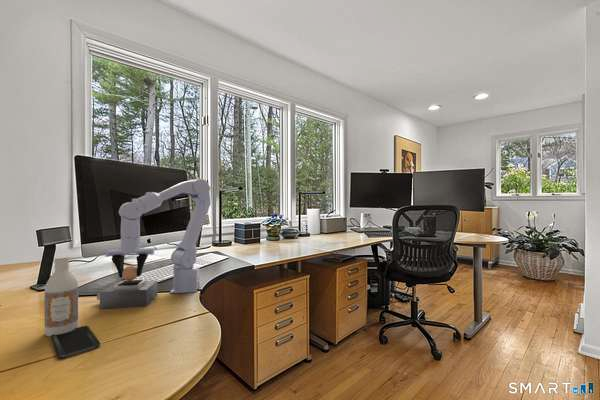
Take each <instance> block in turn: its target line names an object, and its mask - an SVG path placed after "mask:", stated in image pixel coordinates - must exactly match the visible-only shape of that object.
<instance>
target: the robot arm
mask: <svg viewBox="0 0 600 400" xmlns="http://www.w3.org/2000/svg"><path fill="white" fill-rule="evenodd" d="M210 191H211V186H210V185H209V182H207V180H205V179H204V178H198V179H188V180H187V181H186V180H185V181H182V182H179V183H177V184H175V185H173V186H170V187H169V188H167V189H165V190H164V189H163V190H162V191H161V192H154V191H148V192H145V194H144V195H142V196H140V197H138V198H137V197H136V198H131V201H130V202H129V201H128V202H125V203H122V204H121V206H120V207H119V210H118V215H119V216H120V219H121V220H120V248H119V249H108V250H105V257H106V258H107V257H108V258H109V257H111V261H112V263H113V264H114V266H115V268H116V271H117V274H118V278H123V277H122V272H123V270H124V269H125V267H124V266H125V256H136V264H137V266H136V267H137V277H141V275H142V272H143V269H144V265H145V263H146V260H147V258H148V257H149V256H150V255H151V256H152V255H154V254H155V248H153V247H152V248H151V247H150V248H148V247H146V248H145V247H144V248H143V247H141V223H140V221H141V216H142V215H143V214H146V213H148V212H150V211H152V210H154V209H157V208H159V207H161V206H162V203H163V202H164V201H167V200H168V199H171V198H173V197H175V196H178V195H180V194H187V195H188V196H189V197H190V198H192V200H193V203H195V206H194V209H193V211H192V213H191V216H190V219H189V221H188V223H187V227H186V229H185V232H184V234H183V237H182V240H181V242H179V243H178V244H177V246H176V249H174V251H173V252H172V254H171V256H170V260H171V261H172V263H173V276H172V277H173V279H172V280H173V285H172V286H173V288H172V289H171V290H170V291H169V293H170V294H184V293H185V294H186V293H187V294H188V293H196V292H197V291H198V290H199V288H200V287H201V286H200V285H201V283H200V282H201V281H200V277H201V276H200V267H199V266H194V265H195V263H196V262H197V252H198V249H197V242H198V240H199V236H200V235H201V230H202V229H203V226H204V223H205V220H206V216H207V214H208V212H209V209H210V206H211V194H210ZM198 287H199V288H198ZM197 289H198V290H197Z"/></svg>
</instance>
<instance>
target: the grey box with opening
mask: <svg viewBox="0 0 600 400" xmlns="http://www.w3.org/2000/svg"><path fill="white" fill-rule="evenodd" d="M157 297H158V280H155V279H154V280H153V279H152V280H147V279H145V278H144V279H134V280H131V281H128V280H125V279H123V280H122V281H116V282H113V283H112V284H110V285H109V286H108V287H106V288H104V289H103V290H100V291H99V292H98V293H97V294H96V300H97V301H99V310H109V309H110V310H111V309H124V308H125V309H128V308H146V307H148V306H149V305H150V304H151V303H152V302H153V301H154V300H155V299H156V298H157Z"/></svg>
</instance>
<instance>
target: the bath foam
mask: <svg viewBox="0 0 600 400" xmlns="http://www.w3.org/2000/svg"><path fill="white" fill-rule="evenodd" d="M69 261H70V256H67V255H66V256H65V255H63V256H56V257H55V258H54V272H53V273H52V274H51V275H50V277H49V279H48V280H47V281H46V284H45V286H44V287H45V288H44V334H45V336H47V337H50V338H51V335H58V334H63V333H67V332H70V331H72V330H74V329H75V328H78V327H79V283H78V280H77V277H76V276H75V275H74V274H73V273H72V271H71V270H70V269H69V268H70V262H69Z"/></svg>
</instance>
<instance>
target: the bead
mask: <svg viewBox="0 0 600 400" xmlns="http://www.w3.org/2000/svg"><path fill="white" fill-rule="evenodd" d="M137 268H138V267H137V266H135V265H128V266H126V267H124V270H123V272H122V277H121V278H122V279H123V280H128V281H131V280H136V278H137V277H138V276H137Z"/></svg>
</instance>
